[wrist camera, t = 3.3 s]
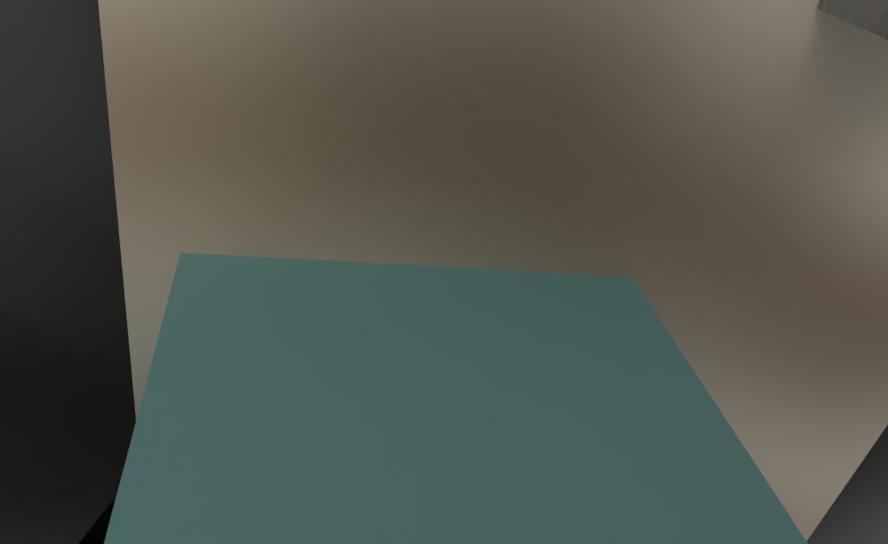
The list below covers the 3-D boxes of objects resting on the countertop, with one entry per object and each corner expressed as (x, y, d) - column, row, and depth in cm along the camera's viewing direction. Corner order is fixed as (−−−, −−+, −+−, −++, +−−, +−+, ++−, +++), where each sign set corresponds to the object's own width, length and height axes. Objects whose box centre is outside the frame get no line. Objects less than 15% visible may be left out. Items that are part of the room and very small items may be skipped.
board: (777, 529, 14) (794, 557, 13) (157, 551, 11) (150, 587, 11) (1363, -372, 7) (1448, -385, 6) (46, -852, 4) (14, -933, 4)
